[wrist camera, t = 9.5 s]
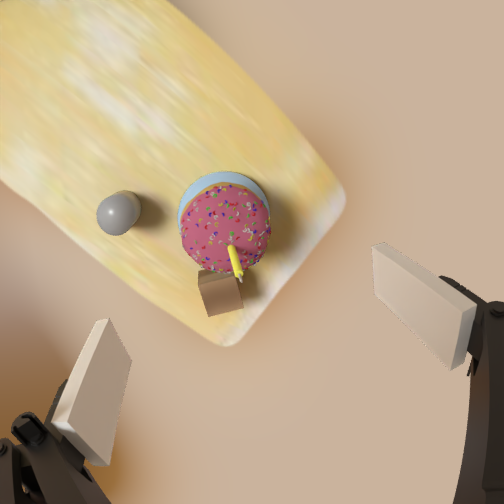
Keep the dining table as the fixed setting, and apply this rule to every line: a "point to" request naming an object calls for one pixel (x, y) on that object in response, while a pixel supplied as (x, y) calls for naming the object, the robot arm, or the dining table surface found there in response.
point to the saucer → (216, 178)
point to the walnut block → (219, 292)
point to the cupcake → (225, 228)
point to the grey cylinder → (118, 212)
